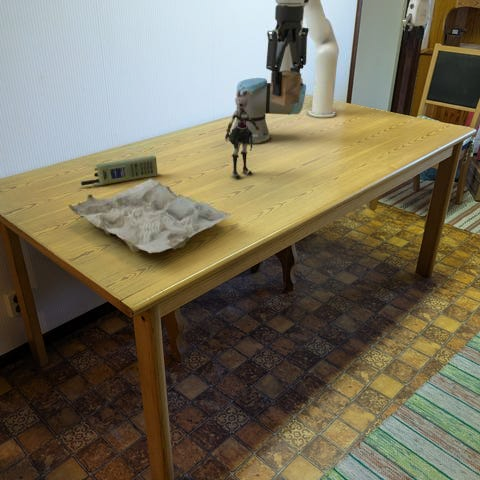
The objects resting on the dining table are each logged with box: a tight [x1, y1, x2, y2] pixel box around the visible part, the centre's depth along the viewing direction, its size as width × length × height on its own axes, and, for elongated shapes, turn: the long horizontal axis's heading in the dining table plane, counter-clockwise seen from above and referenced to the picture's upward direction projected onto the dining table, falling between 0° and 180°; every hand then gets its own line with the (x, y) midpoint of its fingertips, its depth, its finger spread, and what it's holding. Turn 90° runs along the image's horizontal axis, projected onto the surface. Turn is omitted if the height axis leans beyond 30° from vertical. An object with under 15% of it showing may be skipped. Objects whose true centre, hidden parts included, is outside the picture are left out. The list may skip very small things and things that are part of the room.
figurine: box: [224, 86, 260, 179], centre depth 165 cm, size 15×6×30 cm, turn 132°
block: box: [270, 70, 302, 106], centre depth 144 cm, size 6×6×8 cm
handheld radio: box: [80, 155, 159, 187], centre depth 164 cm, size 7×3×25 cm
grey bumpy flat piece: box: [68, 178, 232, 254], centre depth 138 cm, size 38×6×30 cm
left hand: (285, 93), depth 145 cm, fingers closed on block, 6 cm apart
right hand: (412, 39), depth 216 cm, fingers open, 9 cm apart
